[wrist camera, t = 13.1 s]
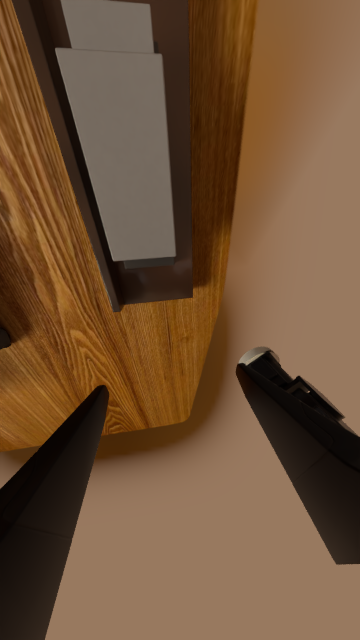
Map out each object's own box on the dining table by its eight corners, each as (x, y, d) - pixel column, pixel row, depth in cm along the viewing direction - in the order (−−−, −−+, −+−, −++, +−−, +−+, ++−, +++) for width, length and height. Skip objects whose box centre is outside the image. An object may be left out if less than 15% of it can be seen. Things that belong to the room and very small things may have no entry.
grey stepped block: (173, 263, 15) (180, 270, 10) (128, 267, 14) (113, 276, 10) (158, 68, 9) (157, -115, 4) (81, 64, 9) (-7, -143, 4)
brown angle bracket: (189, 291, 19) (196, 303, 15) (122, 298, 18) (113, 312, 14) (180, 11, 9) (196, -156, 6) (40, -2, 9) (-58, -208, 5)
